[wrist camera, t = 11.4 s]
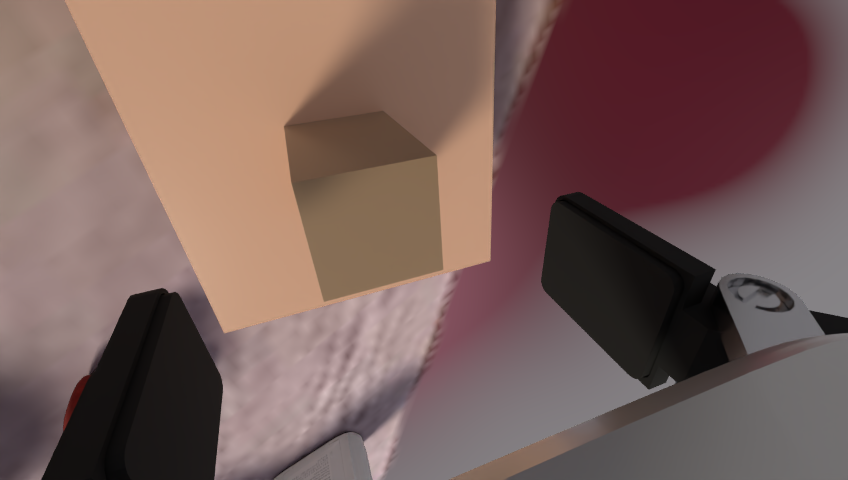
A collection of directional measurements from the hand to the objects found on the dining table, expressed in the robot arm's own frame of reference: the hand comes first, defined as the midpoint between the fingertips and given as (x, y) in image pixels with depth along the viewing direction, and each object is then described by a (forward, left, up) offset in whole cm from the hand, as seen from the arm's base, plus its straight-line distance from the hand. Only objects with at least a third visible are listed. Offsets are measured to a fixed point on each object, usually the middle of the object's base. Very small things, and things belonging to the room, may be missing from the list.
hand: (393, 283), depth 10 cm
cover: (0, 0, -11) cm, 11 cm away
